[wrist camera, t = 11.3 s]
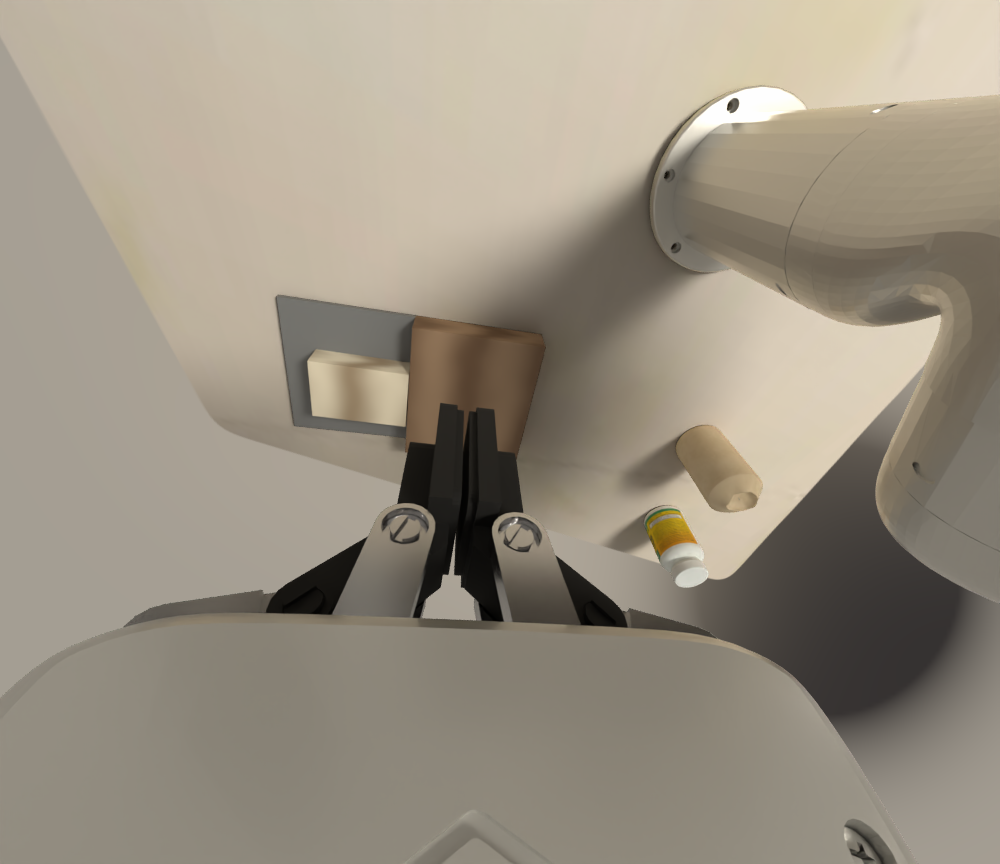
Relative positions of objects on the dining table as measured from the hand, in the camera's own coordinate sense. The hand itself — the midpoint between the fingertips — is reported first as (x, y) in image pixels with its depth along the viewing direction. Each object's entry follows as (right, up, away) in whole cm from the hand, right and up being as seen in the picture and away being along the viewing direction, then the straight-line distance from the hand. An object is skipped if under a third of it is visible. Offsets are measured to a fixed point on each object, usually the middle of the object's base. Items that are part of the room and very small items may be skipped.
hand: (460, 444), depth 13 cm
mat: (-14, +6, +28) cm, 32 cm away
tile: (-12, +5, +27) cm, 30 cm away
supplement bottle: (+24, -11, +44) cm, 51 cm away
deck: (-2, +5, +30) cm, 30 cm away
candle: (+25, -1, +36) cm, 44 cm away
